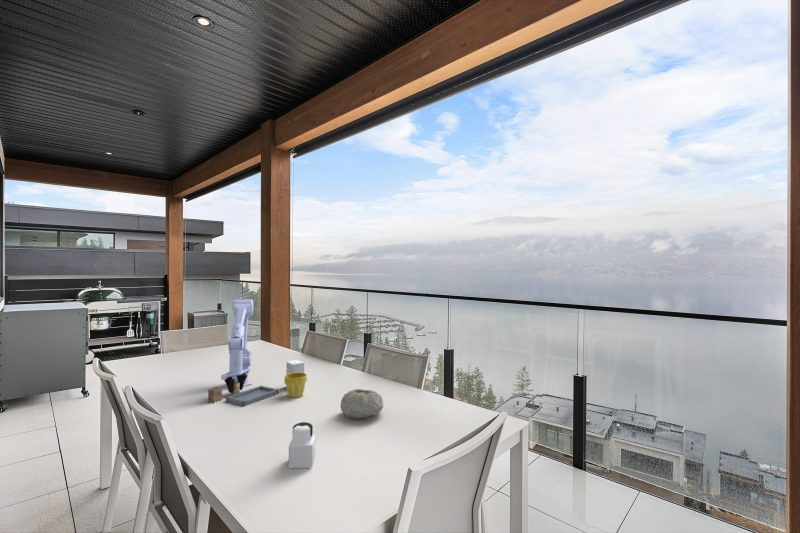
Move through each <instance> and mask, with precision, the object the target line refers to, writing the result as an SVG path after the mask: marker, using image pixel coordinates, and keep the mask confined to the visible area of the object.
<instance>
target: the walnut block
mask: <svg viewBox="0 0 800 533" xmlns="http://www.w3.org/2000/svg"><path fill="white" fill-rule="evenodd" d="M222 399H223V389H222V387H217V386H216V387H212V388H209V389H208V390H207V402H209V403H211V402H212V404H215V402H216V403H219V402H221V400H222ZM218 401H219V402H218ZM222 401H223V400H222Z"/></svg>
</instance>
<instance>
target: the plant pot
mask: <svg viewBox="0 0 800 533" xmlns="http://www.w3.org/2000/svg"><path fill="white" fill-rule="evenodd" d="M307 380H308V375H307V373H306V372H304V373H300V372H298V373H290V374H287V375H286V374H285V375H284V384H285V387H286V386H287V387H286V391H287V395H288V397H289V398H293V399H296V398H301V397H303V396H304V391H305V387H306V382H308V381H307Z"/></svg>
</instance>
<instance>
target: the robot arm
mask: <svg viewBox="0 0 800 533" xmlns="http://www.w3.org/2000/svg"><path fill="white" fill-rule="evenodd" d="M231 308H232V312H233V315H234V316H235V323H234V325H233V326H232V327H231V328H232V329H231V335H230V338H229V339H228V342H227V344H228V345H227V348H228V355H229V368H228V369H229V370H228V372H226V373H223V374H221V375H220V379H221V380H223V381H224V382H225V384H226V387H227V390H228V393H229V394H231V393H233V386H234V382H240V391H243V389H244V387H246V386H249V385H252V384H253V382H250V381H249V374H250V370H251V369H250V368H249V367H251V366H252V357H253V356H252V351H251V350H249V349H248V348H247V340H248V329H249V328H248V325H249V318H250V317H252V316H253V314H254V300H253V299H252V298H251V299H233V300H232V304H231Z"/></svg>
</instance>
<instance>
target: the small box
mask: <svg viewBox="0 0 800 533" xmlns="http://www.w3.org/2000/svg"><path fill="white" fill-rule="evenodd" d="M285 371H286V373H285V375H287V374H290V373H298V372H300V373H305V362H304V361H301V360H299V359H294V360H293V359H292V360H286V370H285ZM285 387H286V388H287V386H286V385H285Z"/></svg>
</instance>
